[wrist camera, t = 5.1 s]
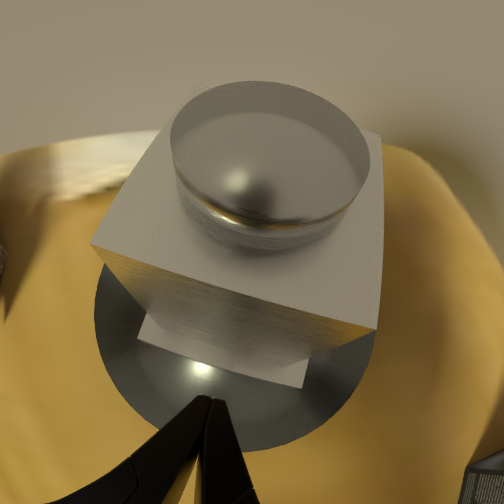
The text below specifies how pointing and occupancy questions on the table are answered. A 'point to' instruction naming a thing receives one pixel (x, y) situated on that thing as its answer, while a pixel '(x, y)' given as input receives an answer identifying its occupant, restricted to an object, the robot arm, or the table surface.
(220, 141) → the cover
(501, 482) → the small box
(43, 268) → the table surface
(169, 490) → the robot arm
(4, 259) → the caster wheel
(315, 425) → the turntable
